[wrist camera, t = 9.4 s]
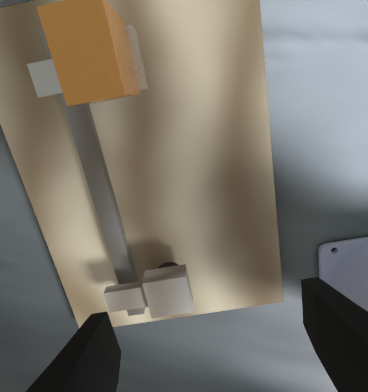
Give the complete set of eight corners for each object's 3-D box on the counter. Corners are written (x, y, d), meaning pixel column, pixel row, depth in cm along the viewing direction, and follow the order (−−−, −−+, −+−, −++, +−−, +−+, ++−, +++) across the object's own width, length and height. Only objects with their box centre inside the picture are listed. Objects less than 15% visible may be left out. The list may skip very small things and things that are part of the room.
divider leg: (139, 31, 16) (109, -10, 9) (151, 93, 17) (133, 93, 10) (39, 51, 16) (-52, 25, 10) (58, 111, 17) (-13, 121, 11)
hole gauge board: (251, -40, 16) (270, -78, 12) (279, 293, 23) (296, 328, 19) (-29, 21, 16) (-85, 2, 13) (84, 322, 24) (68, 361, 20)
